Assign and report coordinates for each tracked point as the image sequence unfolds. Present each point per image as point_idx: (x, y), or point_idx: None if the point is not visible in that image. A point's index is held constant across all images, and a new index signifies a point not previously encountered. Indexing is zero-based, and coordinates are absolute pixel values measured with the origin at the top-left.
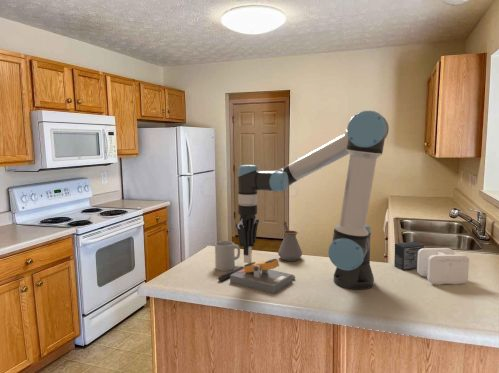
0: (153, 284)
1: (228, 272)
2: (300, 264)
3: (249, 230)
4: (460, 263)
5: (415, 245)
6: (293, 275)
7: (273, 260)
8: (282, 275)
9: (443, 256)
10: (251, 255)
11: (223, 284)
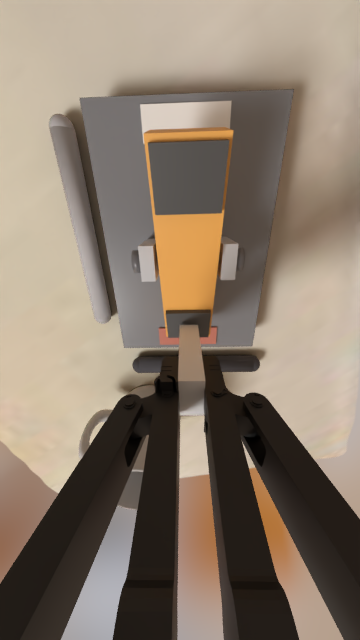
0: (335, 449)
1: None
2: None
3: (175, 568)
4: None
5: None
6: (58, 120)
7: (197, 140)
8: (131, 146)
9: None
10: (179, 344)
11: (268, 338)
